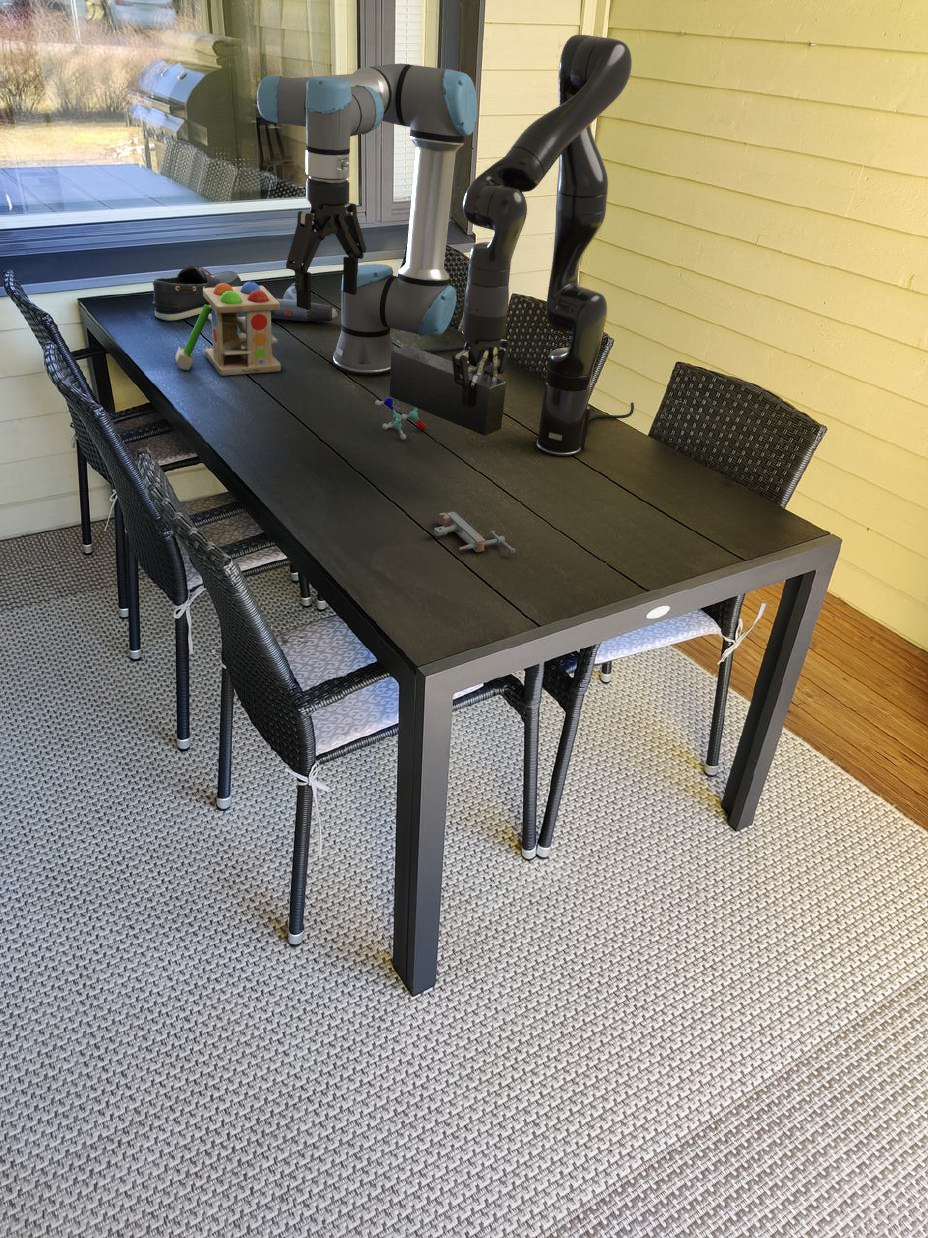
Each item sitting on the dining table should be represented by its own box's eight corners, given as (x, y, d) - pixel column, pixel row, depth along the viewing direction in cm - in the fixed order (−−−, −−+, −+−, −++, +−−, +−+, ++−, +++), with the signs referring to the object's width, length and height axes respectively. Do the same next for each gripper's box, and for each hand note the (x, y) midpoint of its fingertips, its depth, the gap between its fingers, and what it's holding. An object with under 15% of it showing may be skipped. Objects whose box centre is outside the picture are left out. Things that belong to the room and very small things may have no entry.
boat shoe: (260, 299, 274) (258, 261, 269) (172, 322, 251) (168, 281, 245) (227, 291, 280) (224, 253, 275) (137, 313, 256) (132, 272, 251)
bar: (389, 396, 188) (391, 350, 183) (406, 390, 192) (408, 344, 186) (484, 436, 177) (489, 388, 171) (501, 429, 180) (506, 381, 175)
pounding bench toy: (183, 379, 220) (176, 299, 210) (169, 357, 231) (162, 280, 221) (282, 371, 230) (280, 294, 220) (264, 350, 240) (262, 276, 230)
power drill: (344, 304, 276) (335, 327, 259) (277, 298, 275) (264, 321, 258) (344, 285, 273) (335, 306, 256) (277, 279, 272) (264, 300, 255)
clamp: (424, 515, 172) (473, 506, 177) (423, 526, 174) (472, 516, 178) (467, 556, 162) (517, 545, 167) (465, 568, 163) (516, 556, 168)
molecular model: (422, 431, 199) (406, 384, 197) (382, 446, 202) (366, 399, 201) (442, 428, 209) (426, 382, 208) (403, 442, 213) (388, 397, 212)
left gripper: (297, 190, 161) (299, 319, 173) (387, 173, 179) (383, 291, 191) (263, 182, 164) (266, 309, 176) (354, 166, 182) (352, 282, 194)
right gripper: (476, 321, 162) (468, 418, 171) (528, 305, 171) (517, 398, 181) (442, 310, 165) (435, 405, 175) (494, 295, 175) (486, 386, 184)
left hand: (327, 300), depth 183 cm, fingers open, 13 cm apart
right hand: (477, 401), depth 178 cm, fingers closed on bar, 5 cm apart
